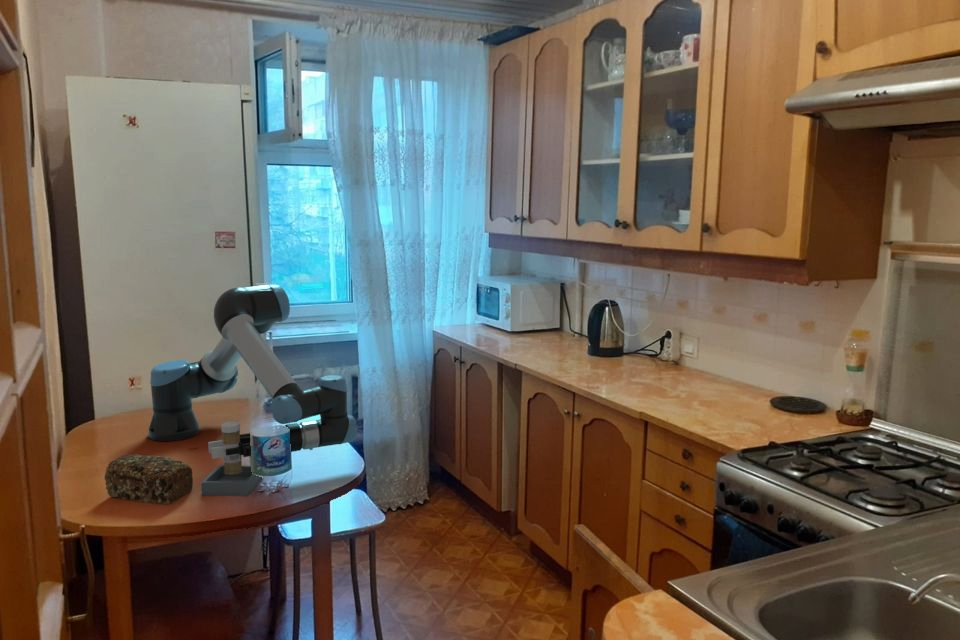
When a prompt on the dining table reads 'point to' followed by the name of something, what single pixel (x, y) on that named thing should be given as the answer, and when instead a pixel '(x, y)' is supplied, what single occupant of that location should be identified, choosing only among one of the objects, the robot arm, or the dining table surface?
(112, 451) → the dining table surface
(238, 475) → the tray
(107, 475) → the bread
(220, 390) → the robot arm
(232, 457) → the sprinkles bottle
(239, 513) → the dining table surface
